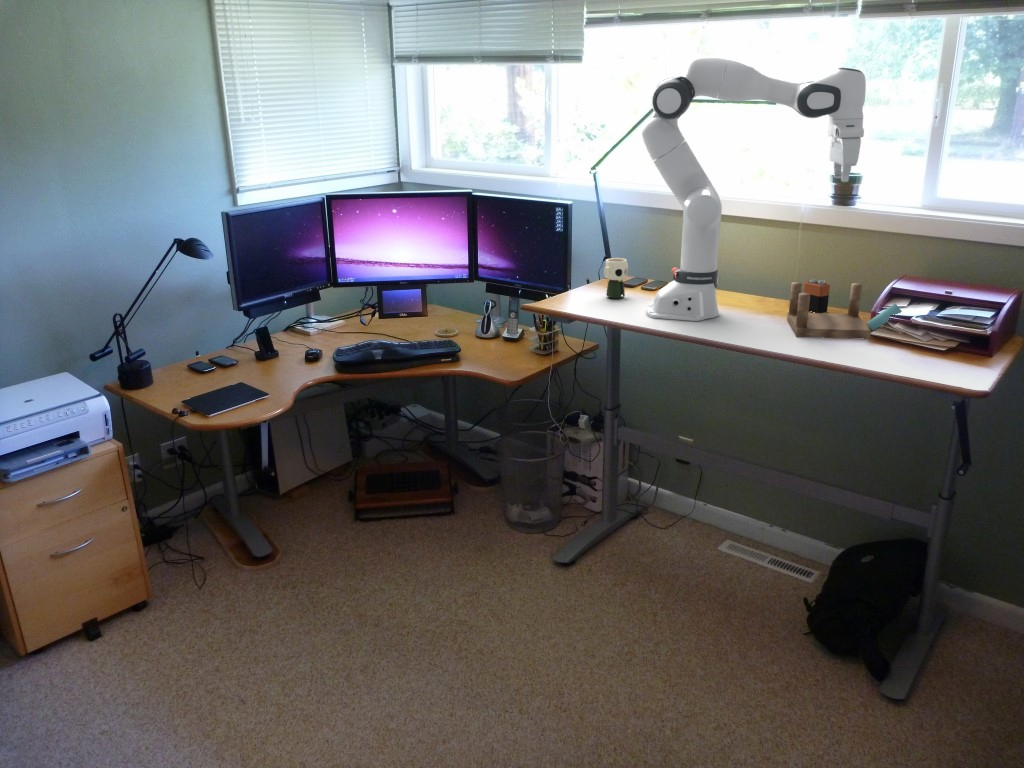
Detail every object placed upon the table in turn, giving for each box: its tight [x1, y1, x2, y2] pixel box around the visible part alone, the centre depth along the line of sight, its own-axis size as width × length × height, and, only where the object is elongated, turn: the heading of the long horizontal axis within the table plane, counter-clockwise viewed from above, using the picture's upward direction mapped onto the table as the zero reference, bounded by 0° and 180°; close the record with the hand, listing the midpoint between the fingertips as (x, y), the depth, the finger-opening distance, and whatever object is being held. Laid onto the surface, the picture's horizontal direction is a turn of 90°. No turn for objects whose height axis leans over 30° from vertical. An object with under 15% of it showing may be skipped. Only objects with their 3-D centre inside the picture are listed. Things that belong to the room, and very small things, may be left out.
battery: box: [802, 278, 831, 313], centre depth 263 cm, size 4×7×10 cm, turn 32°
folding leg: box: [865, 303, 903, 332], centre depth 235 cm, size 3×3×9 cm
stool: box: [786, 281, 872, 340], centre depth 243 cm, size 20×18×12 cm
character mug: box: [603, 257, 629, 299], centre depth 283 cm, size 11×7×13 cm, turn 128°
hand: (840, 179), depth 239 cm, fingers open, 8 cm apart
